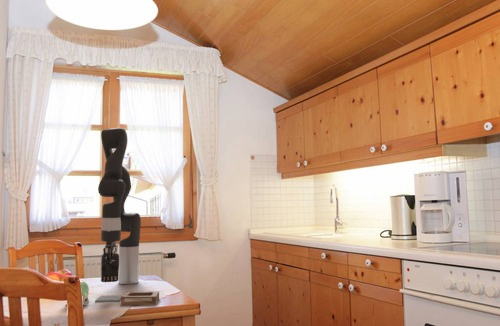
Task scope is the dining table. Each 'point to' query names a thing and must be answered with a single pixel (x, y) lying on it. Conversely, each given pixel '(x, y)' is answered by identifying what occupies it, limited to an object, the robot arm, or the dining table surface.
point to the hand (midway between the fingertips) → (110, 272)
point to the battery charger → (115, 269)
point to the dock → (140, 298)
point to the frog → (84, 292)
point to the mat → (109, 298)
